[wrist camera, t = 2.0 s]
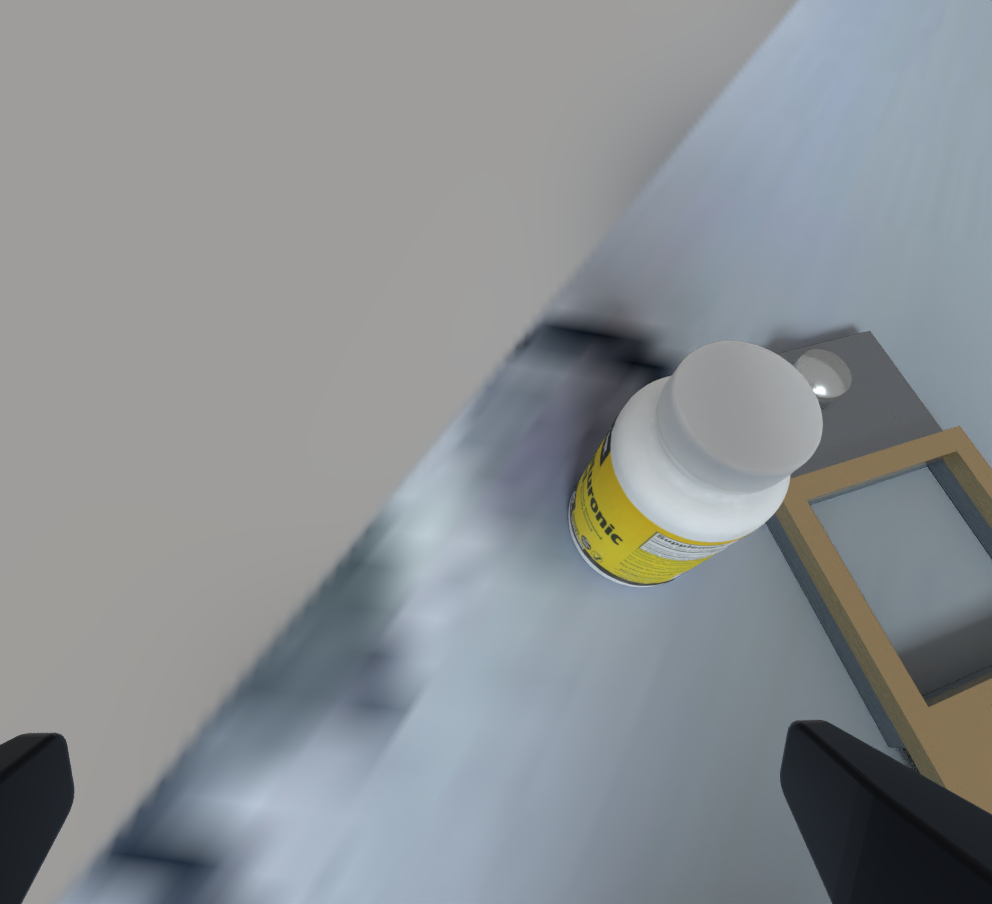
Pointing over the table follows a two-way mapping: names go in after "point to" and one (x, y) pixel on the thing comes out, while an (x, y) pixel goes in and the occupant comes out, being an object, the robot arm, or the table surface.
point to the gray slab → (828, 584)
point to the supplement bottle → (694, 463)
